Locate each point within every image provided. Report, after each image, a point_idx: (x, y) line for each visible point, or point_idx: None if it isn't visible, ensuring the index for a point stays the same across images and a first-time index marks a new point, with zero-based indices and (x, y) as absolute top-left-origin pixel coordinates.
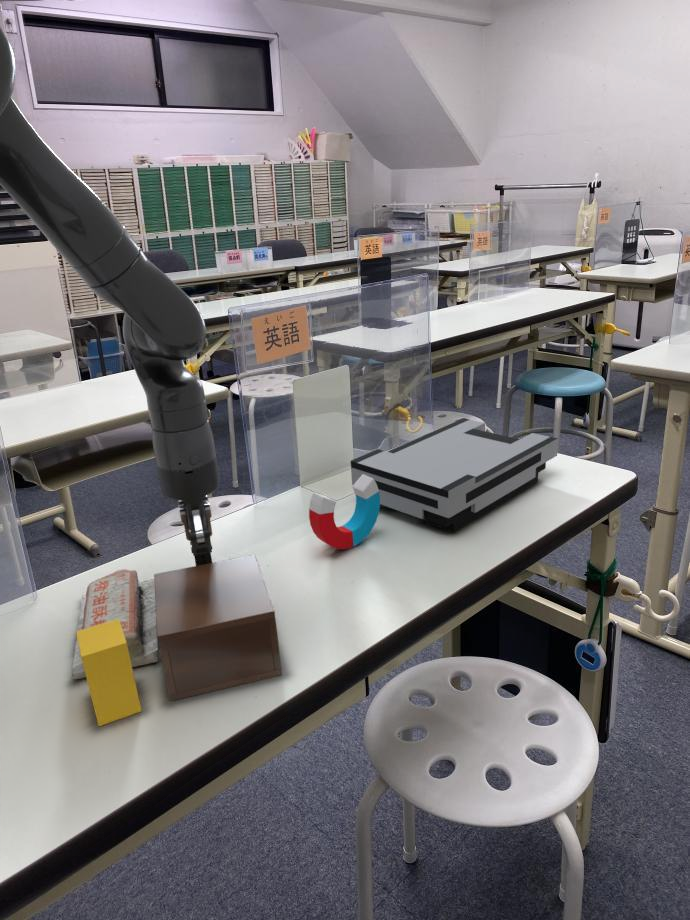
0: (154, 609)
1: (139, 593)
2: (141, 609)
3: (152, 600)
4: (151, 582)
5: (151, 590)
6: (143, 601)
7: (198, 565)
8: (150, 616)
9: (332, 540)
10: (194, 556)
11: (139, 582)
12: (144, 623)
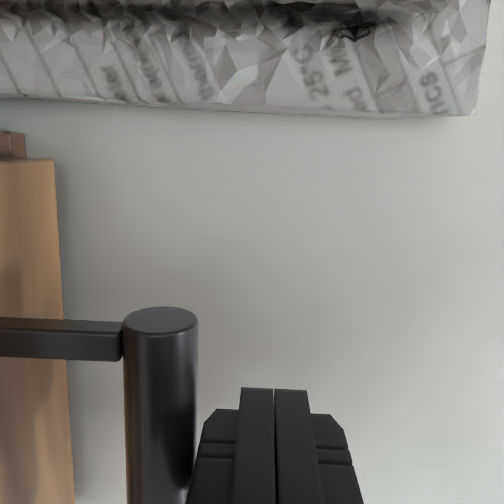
0: (133, 93)
1: (303, 8)
2: (146, 15)
3: (238, 88)
4: (439, 96)
5: (342, 89)
6: (244, 34)
7: (235, 438)
8: (76, 66)
9: None
10: (232, 481)
11: (485, 21)
12: (16, 27)
